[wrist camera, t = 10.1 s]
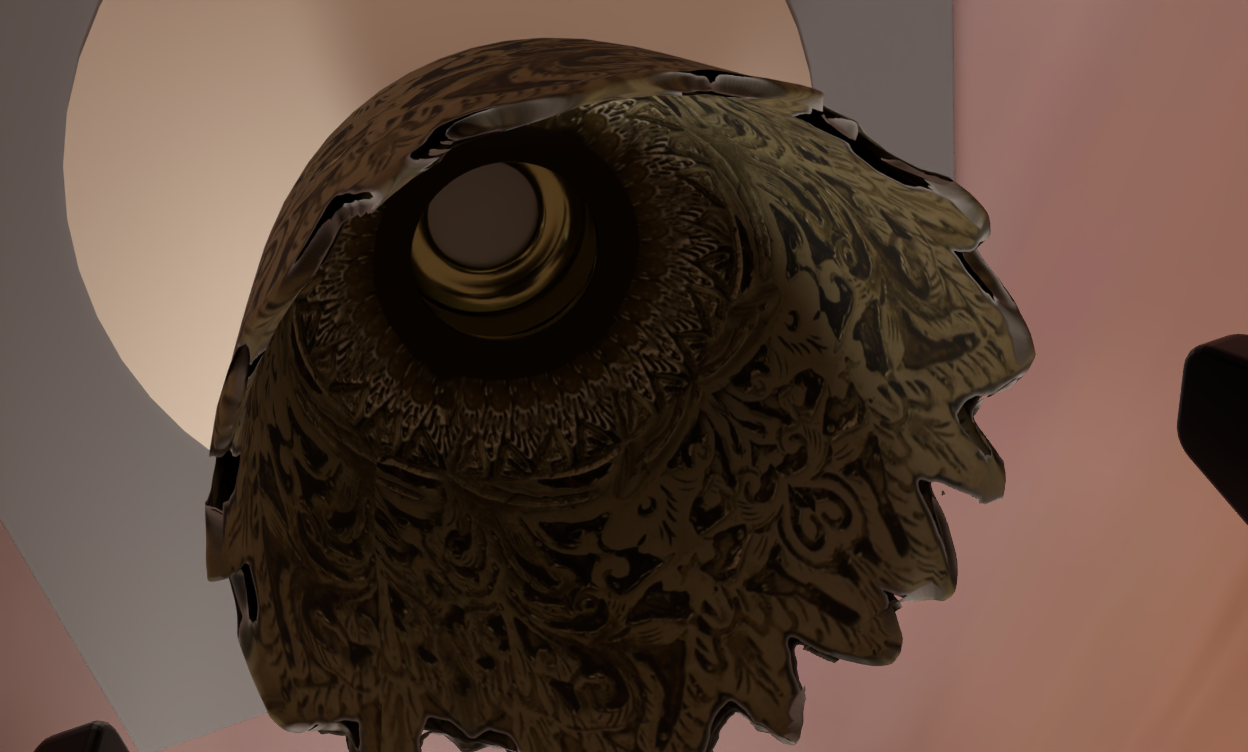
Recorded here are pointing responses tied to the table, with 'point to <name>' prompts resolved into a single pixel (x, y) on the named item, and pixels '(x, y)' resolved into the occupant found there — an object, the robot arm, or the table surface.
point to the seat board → (234, 242)
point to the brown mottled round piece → (599, 409)
